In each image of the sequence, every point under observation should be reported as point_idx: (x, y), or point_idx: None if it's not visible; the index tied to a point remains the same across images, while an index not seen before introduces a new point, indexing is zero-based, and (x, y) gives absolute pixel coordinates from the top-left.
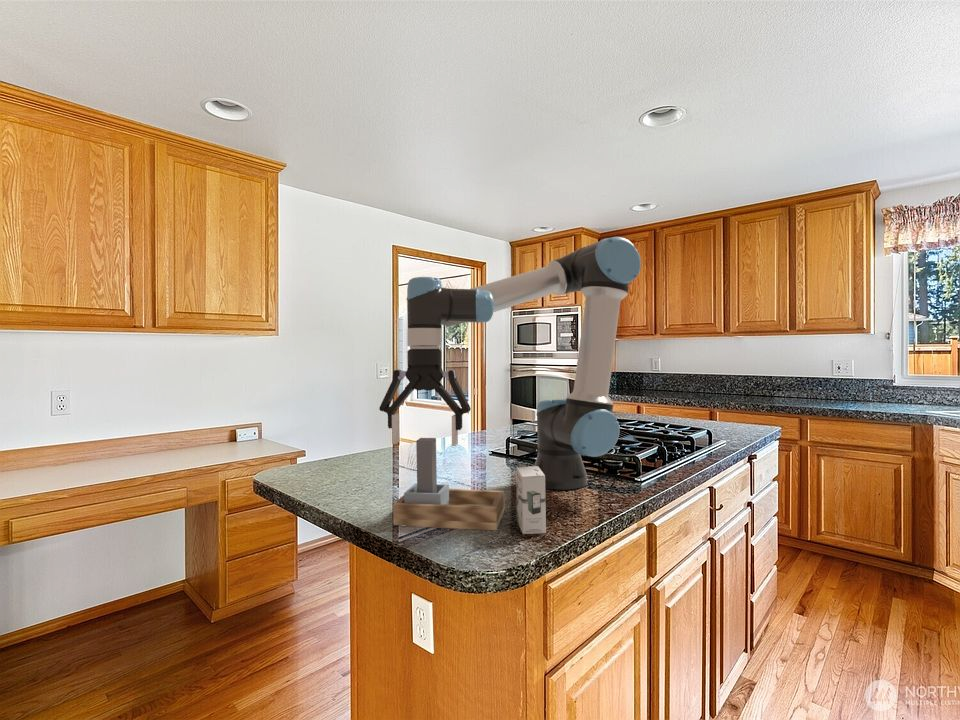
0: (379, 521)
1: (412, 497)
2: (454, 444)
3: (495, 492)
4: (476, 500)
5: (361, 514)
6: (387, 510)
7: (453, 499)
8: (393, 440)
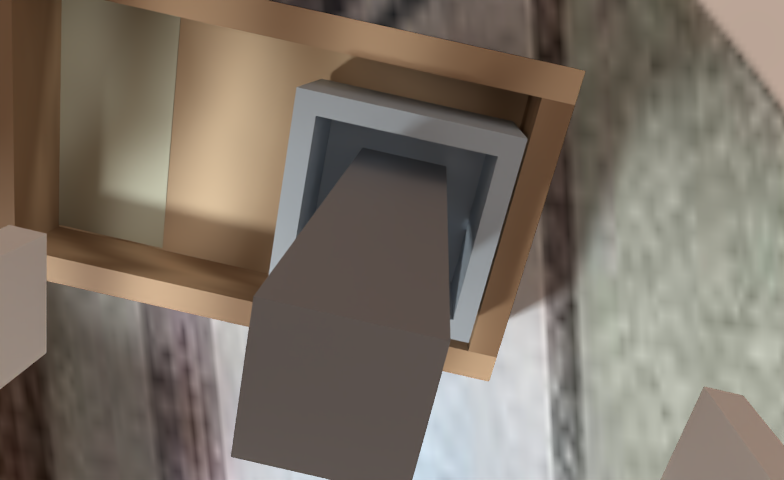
0: (635, 135)
1: (472, 122)
2: (3, 230)
3: None
4: (154, 256)
5: (730, 247)
6: (600, 291)
7: None
8: (744, 416)
